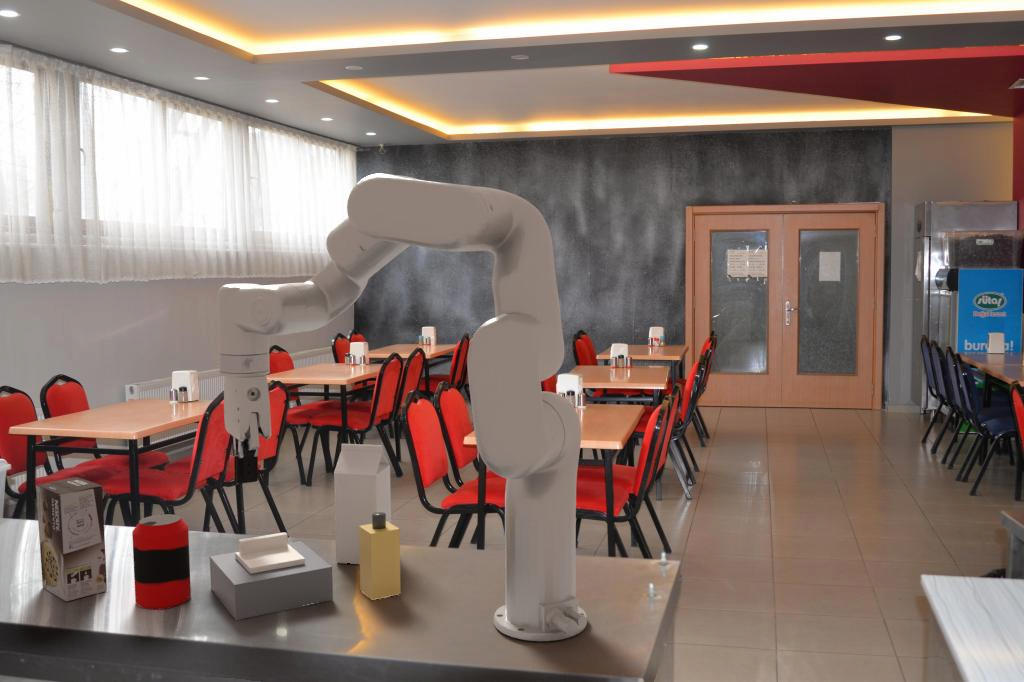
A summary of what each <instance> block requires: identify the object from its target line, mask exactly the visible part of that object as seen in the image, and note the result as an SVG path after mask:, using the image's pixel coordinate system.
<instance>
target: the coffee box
mask: <svg viewBox="0 0 1024 682" xmlns="http://www.w3.org/2000/svg"><path fill="white" fill-rule="evenodd" d="M35 487H36V488H35V490H36V504H37V521H38V524H37V525H38V537H39V538H38V539H39V550H40V551H39V552H40V566H41V567H40V568H41V579H42V580H41V582H42V588H43V589H44V590H46V591H48V592H50V593H51V594H53V595H54V596H57V597H58V598H59V599H60V600H63V601H65V602H70V601H73V600H78V599H82V598H85V597H88V596H93V595H97V594H101V593H105V592H107V590H108V584H107V582H108V580H107V579H108V578H107V559H106V556H107V555H106V542H105V540H106V539H105V536H106V535H105V516H104V497H103V494H104V493H103V488H104V487H103V485H101V484H98V483H96V482H93V481H89V480H87V479H84V478H81V477H79V476H75V477H74V476H73V477H68V478H64V479H58V480H54V481H50V482H46V483H40V484H36V485H35Z"/></svg>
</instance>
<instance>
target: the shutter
mask: <svg viewBox="0 0 1024 682" xmlns="http://www.w3.org/2000/svg"><path fill="white" fill-rule="evenodd" d="M288 535H289V534H288V533H287V532H286V531H285V532H278V533H271V534H266V535H261V536H260V535H259V536H254V537H247V538H241V539H238V551H235V552H236V553H235V558H236V559H237V560H238V561H239V562H240V563H241V564H242V566H243V567H244V568H245V569H246V570H247V571H248V572H249V573H250V574H252V573H257V572H263V571H268V570H274V569H279V568H285V567H290V566H296V565H301V564H305V558H304V557H303V556H302V555H300V554H299V553H298V552H297V551H296V550H295V549H293V548H292V547H291V546H290V545H289V544H288V543H289V541H288V539H289V537H288Z"/></svg>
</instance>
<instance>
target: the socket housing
mask: <svg viewBox="0 0 1024 682" xmlns="http://www.w3.org/2000/svg"><path fill="white" fill-rule="evenodd" d="M288 544H289V545H290V546H291V547H292V548H293V549H295V550H296V551H297V552H298V553H299V554H300V555H302V556H303V557H304V558H305V564H301V565H296V566H290V567H285V568H279V569H274V570H268V571H263V572H257V573H252V574H250V573H249V572H248V571H247V570H246V569H245V568H244V567H243V566H242V564H241V563H240V562H239V561H238V560H237V559H236V558H235V553H236V552H237V551H234V552H229V553H228V552H227V553H222V554H215V555H212V556H209V568H210V569H209V571H210V589H211V591H212V592H213V593H214V594H215V596H216V597H217V598H218V599H219V601H220V602H221V604H223V606H224V607H225V608H226V610H227V611H228V613H230V615H231V616H232V617H233V619H234V620H235V621H239V620H243V619H248V618H253V617H258V616H262V615H263V616H264V615H269V614H273V613H277V612H282V611H286V610H287V611H288V610H291V609H296V607H297V608H301V607H300V606H302V607H304V606H303V605H307V604H311V603H317V602H321V603H325V602H324V601H326V602H329V601H328V600H331V601H333V600H334V596H333V595H334V591H333V587H334V585H333V566H332V565H331V564H329V563H328V562H327V561H325V559H324V558H323V557H321V556H320V555H319V554H317V553H316V552H315V551H314V550H312V549H311V548H310V547H309V546H307V545H306V544H305V543H303V542H302V541H301V540H300V541H293V542H288ZM317 604H318V603H317ZM307 606H308V605H307Z"/></svg>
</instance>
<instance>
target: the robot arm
mask: <svg viewBox="0 0 1024 682" xmlns="http://www.w3.org/2000/svg"><path fill="white" fill-rule="evenodd" d="M346 205H347V206H346V211H347V216H348V217H347V218H346V219H344V220H343V221H342V222H341V223H339V224H338V225H337V226H336V227H335V228H333V229H332V230H331V231H330V232H329V233H328V235H327V238H326V242H325V243H326V245H325V246H326V249H327V253H328V255H329V257H330V259H331V260H330V261H329V262H328V263H327V264H326V265H325V266H324V267H323V268H322V269H321V270H320V271H318V272H317V273H316V274H315V275H314V276H313V277H311V278H309V279H308V280H307V281H305V282H293V283H291V282H290V283H289V282H288V283H282V284H281V283H278V284H269V285H268V284H266V285H262V284H258V283H228V284H227V283H226V284H224V285H222V286H221V287H219V289H218V291H217V300H216V301H217V335H218V336H217V340H218V342H217V344H218V348H217V349H218V376H222V377H224V383H223V386H224V387H223V417H224V418H223V419H224V429H225V431H226V432H227V433H228V434H229V435H231V437H232V439H233V454H234V456H233V458H234V459H233V466H234V469H233V470H234V473H233V474H234V481H235V482H236V483H237V484H239V485H240V484H241V485H242V484H248V483H255V482H258V480H259V468H258V467H259V465H258V464H259V462H258V460H259V459H258V458H259V457H258V455H259V454H258V453H259V449H260V439H259V438H260V437H262V438H263V439H265V440H268V439H270V438H271V436H272V420H271V419H272V418H271V406H270V405H271V403H270V393H269V383H268V377H267V375H269V374H270V373H271V370H270V367H271V366H270V363H271V362H270V337H276V336H277V337H278V336H286V335H292V334H296V333H304V332H312V331H316V330H318V329H319V330H320V328H321V329H322V327H325V326H327V325H328V324H329V323H331V322H332V321H333V320H334V319H335V320H336V318H337V317H338V316H340V315H341V314H342V313H343V312H345V311H347V310H348V309H349V308H351V306H352V305H353V304H354V303H356V301H358V299H359V298H360V296H361V295H362V293H363V292H364V290H365V289H366V287H367V284H368V282H369V279H370V278H372V277H373V276H374V275H375V274H376V273H378V272H379V271H380V270H381V269H383V267H385V266H386V265H387V264H388V263H390V262H391V261H392V260H393V259H395V258H396V257H397V256H398V255H400V254H401V253H402V252H404V251H405V250H406V249H407V248H409V247H411V246H414V247H420V248H425V249H432V250H437V251H443V252H444V251H445V252H455V253H457V252H489V253H491V254H492V255H493V256H494V257H493V258H494V264H493V269H492V270H493V271H492V281H491V284H492V286H491V287H492V294H493V299H494V300H493V301H494V311H495V313H494V314H495V317H493V318H490V319H488V320H487V321H485V322H484V323H482V325H480V327H478V328H477V330H476V331H475V332H474V334H473V336H472V338H471V339H470V343H469V346H468V350H467V351H468V352H467V359H466V360H467V361H466V367H467V378H468V386H469V394H470V395H469V396H470V403H471V412H472V414H471V415H472V422H473V431H474V437H475V438H474V439H475V443H476V447H477V450H478V453H479V455H480V458H481V460H482V461H483V463H484V464H485V465H486V467H487V468H488V469H489V470H490V471H492V473H494V474H495V475H497V476H498V477H501V478H504V479H506V480H505V481H506V483H505V493H504V565H505V566H504V571H505V572H504V575H505V576H504V581H505V582H504V583H505V584H504V585H505V587H504V588H505V589H504V590H505V593H504V595H505V598H504V599H505V604H503V605H502V606H500V607H498V608H497V609H496V610H495V613H494V614H493V623H494V627H495V628H496V629H497V630H498V631H499V632H500V633H502V634H504V635H506V636H508V637H511V638H514V639H518V640H523V641H529V642H551V641H553V642H554V641H560V640H564V639H569V638H573V637H574V636H576V635H579V634H580V633H581V632H583V631H584V630H585V629H586V627H587V624H588V619H587V618H588V615H587V613H586V612H585V610H584V609H583V608H581V606H579V598H578V597H576V578H577V577H576V572H577V571H576V564H577V563H576V562H577V561H576V559H577V556H576V555H577V554H576V547H577V546H576V543H577V542H576V539H577V538H576V537H577V535H576V532H577V530H576V529H577V525H576V524H577V523H576V520H577V519H576V518H577V517H576V513H577V479H578V469H579V460H580V451H581V444H582V443H581V442H582V425H581V421H580V418H579V414H578V412H577V410H576V408H575V406H573V404H572V403H571V402H570V401H569V400H568V399H567V398H565V397H564V396H563V395H561V394H558V393H556V392H553V391H544V390H543V389H542V382H544V381H545V380H548V379H549V378H552V377H553V376H554V375H555V374H557V372H558V371H559V370H560V369H561V367H562V365H563V363H564V359H565V341H564V334H563V333H564V331H563V325H562V324H563V322H562V316H561V305H560V298H559V291H558V285H557V284H558V283H557V277H556V267H555V255H554V254H555V253H554V246H553V240H552V239H553V238H552V235H551V231H550V229H549V225H548V223H547V221H546V219H545V217H544V216H543V214H542V213H541V212H540V210H539V209H537V207H536V206H534V205H533V204H532V203H531V202H530V201H528V200H527V199H525V198H523V197H521V196H519V195H517V194H514V193H511V192H508V191H505V190H502V189H498V188H493V187H486V186H477V185H476V186H474V185H467V184H458V183H448V182H438V181H429V180H423V179H417V178H415V177H412V176H407V175H398V174H390V173H379V172H378V173H372V174H369V175H367V176H365V177H363V178H361V179H360V180H359V181H358V182H357V183H356V184H355V185H354V186H353V187H352V190H351V191H350V193H349V195H348V198H347V204H346ZM542 390H543V391H542ZM259 436H260V437H259Z"/></svg>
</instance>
